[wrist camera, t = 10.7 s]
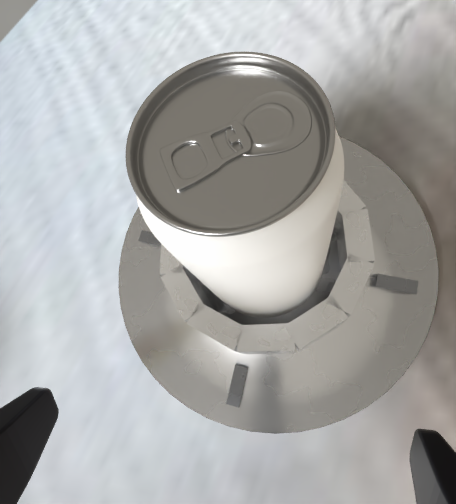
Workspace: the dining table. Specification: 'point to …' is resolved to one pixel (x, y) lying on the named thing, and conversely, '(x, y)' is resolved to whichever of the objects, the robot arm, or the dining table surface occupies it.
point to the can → (240, 177)
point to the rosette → (293, 316)
